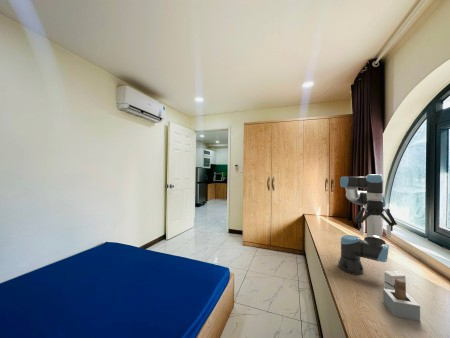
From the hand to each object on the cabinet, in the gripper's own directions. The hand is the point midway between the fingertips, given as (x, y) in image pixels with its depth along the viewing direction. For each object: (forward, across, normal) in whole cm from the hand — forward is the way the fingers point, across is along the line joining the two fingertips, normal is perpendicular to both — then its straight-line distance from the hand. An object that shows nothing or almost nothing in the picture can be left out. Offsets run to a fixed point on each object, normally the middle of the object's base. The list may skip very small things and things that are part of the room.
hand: (374, 235), depth 108 cm
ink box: (+33, +9, -1) cm, 34 cm away
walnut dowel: (+33, +4, -16) cm, 37 cm away
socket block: (+33, +4, -16) cm, 37 cm away
